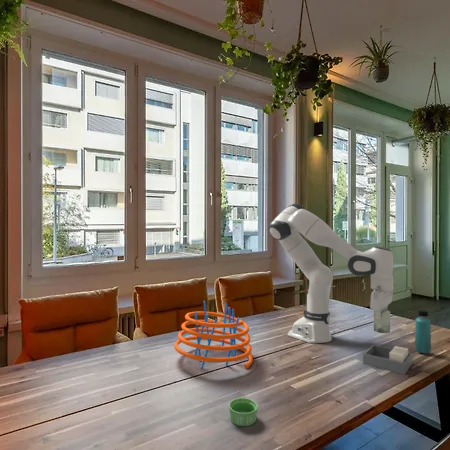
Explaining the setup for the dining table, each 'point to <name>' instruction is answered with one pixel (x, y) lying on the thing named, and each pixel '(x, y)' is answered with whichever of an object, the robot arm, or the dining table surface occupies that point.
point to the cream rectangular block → (398, 354)
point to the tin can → (382, 322)
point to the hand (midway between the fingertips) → (381, 316)
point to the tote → (385, 360)
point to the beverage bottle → (422, 333)
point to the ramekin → (243, 411)
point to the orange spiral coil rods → (215, 337)
